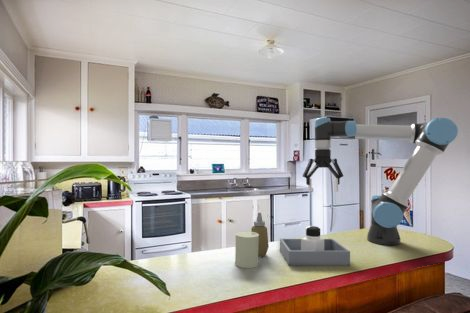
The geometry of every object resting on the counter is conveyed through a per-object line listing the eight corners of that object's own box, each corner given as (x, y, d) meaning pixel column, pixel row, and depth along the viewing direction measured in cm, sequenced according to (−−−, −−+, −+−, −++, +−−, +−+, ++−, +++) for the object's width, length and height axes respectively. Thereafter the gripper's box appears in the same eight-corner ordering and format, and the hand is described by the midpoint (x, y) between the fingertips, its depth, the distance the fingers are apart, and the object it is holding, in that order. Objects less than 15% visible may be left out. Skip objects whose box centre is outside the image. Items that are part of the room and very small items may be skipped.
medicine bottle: (324, 255, 124) (324, 227, 124) (316, 260, 119) (316, 229, 119) (309, 251, 129) (309, 224, 129) (300, 255, 124) (300, 226, 124)
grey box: (332, 251, 133) (333, 238, 133) (349, 265, 115) (350, 251, 115) (279, 250, 132) (279, 238, 132) (288, 265, 114) (288, 251, 114)
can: (262, 266, 113) (262, 235, 113) (239, 269, 110) (240, 236, 110) (252, 258, 121) (253, 229, 121) (231, 261, 118) (232, 231, 118)
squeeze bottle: (269, 258, 122) (270, 214, 122) (249, 258, 122) (250, 214, 122) (267, 252, 130) (268, 211, 130) (249, 252, 130) (249, 210, 130)
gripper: (343, 149, 154) (343, 190, 154) (296, 149, 151) (296, 190, 151) (350, 148, 146) (350, 191, 146) (300, 148, 144) (301, 192, 144)
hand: (323, 191), depth 149 cm, fingers open, 13 cm apart
